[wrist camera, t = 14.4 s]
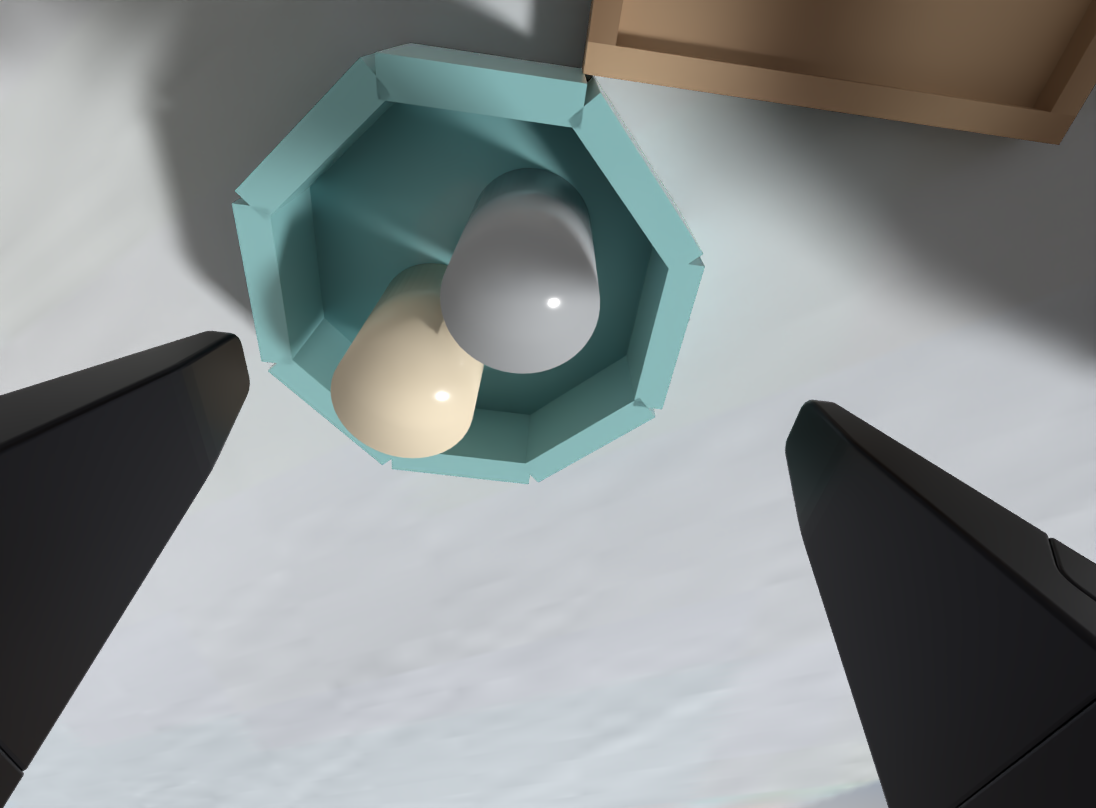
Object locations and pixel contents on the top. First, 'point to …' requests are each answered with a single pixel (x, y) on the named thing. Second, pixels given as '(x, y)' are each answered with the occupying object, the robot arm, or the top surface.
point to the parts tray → (865, 56)
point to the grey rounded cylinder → (523, 275)
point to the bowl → (434, 231)
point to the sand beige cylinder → (407, 372)
